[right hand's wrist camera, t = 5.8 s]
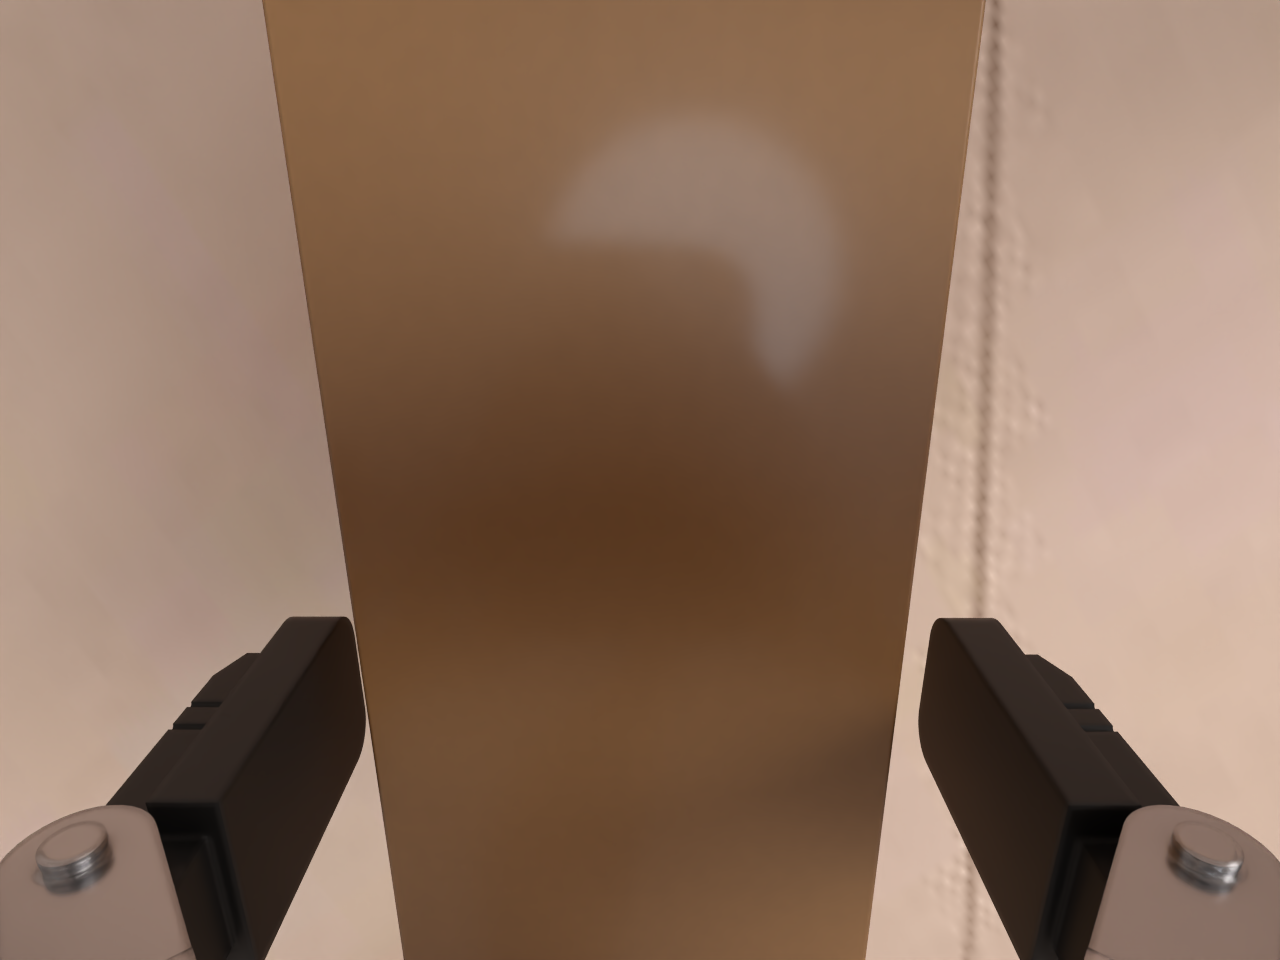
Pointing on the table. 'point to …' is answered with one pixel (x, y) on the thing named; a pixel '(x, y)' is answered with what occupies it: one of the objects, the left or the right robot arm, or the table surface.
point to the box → (628, 444)
